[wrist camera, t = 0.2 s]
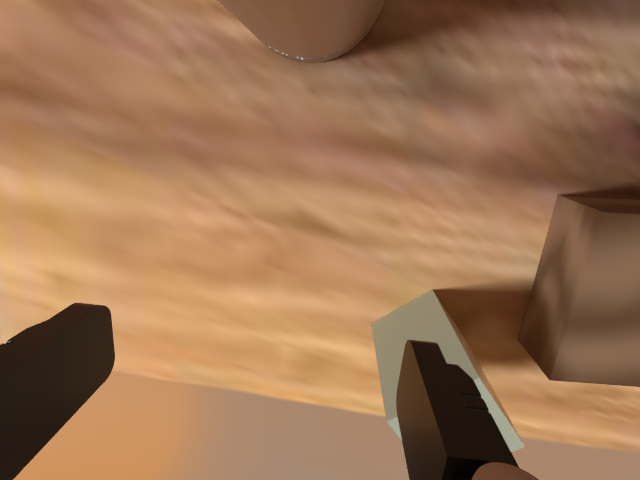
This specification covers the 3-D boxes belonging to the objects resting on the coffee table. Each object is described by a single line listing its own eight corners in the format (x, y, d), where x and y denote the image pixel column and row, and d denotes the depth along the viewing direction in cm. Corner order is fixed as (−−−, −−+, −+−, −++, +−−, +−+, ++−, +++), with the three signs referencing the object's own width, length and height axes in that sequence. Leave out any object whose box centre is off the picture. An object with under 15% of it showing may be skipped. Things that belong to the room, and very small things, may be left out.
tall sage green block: (371, 323, 30) (386, 421, 20) (432, 289, 28) (479, 377, 19) (406, 370, 31) (435, 483, 22) (465, 340, 30) (525, 446, 20)
